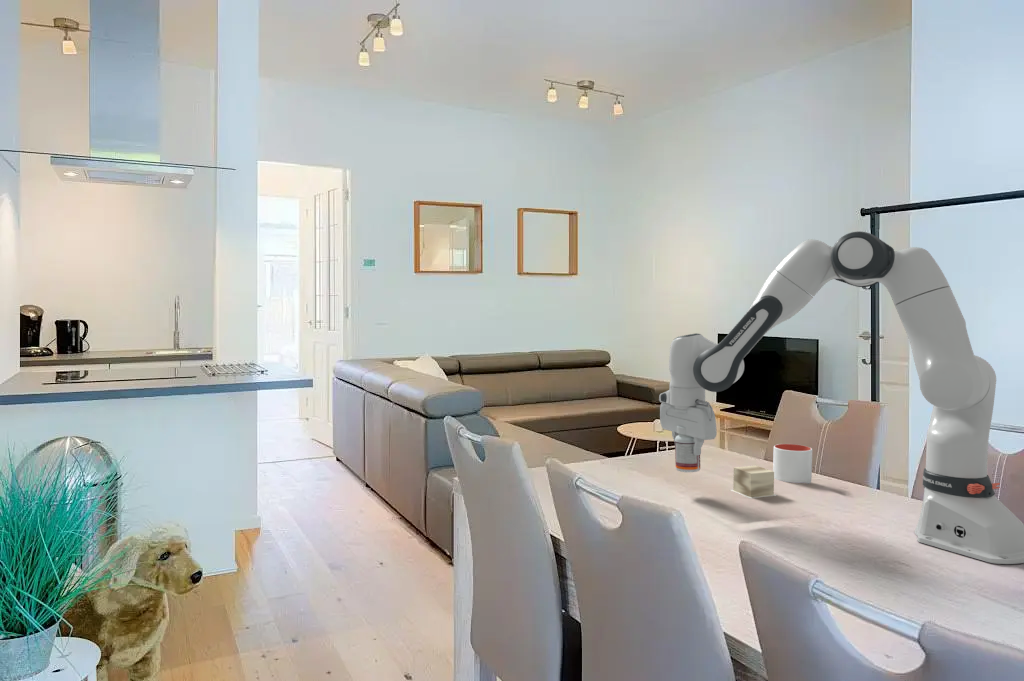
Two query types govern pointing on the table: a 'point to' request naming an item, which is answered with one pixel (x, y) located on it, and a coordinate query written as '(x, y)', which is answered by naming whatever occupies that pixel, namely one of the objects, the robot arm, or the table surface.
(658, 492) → the table surface
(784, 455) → the cup
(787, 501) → the table surface
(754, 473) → the maple block
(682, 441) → the pill bottle
